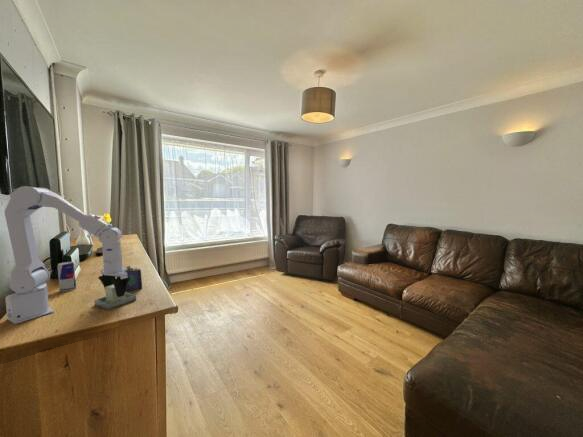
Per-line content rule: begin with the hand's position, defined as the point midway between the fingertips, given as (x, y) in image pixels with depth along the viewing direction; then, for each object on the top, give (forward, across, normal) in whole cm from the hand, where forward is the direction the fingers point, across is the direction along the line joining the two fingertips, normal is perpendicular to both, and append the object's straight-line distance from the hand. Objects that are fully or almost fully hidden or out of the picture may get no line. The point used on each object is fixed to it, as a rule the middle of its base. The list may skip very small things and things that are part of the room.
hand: (115, 294), depth 91 cm
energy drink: (+3, +35, +2) cm, 35 cm away
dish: (+3, 0, 0) cm, 3 cm away
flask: (+3, +9, -10) cm, 14 cm away
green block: (+3, 0, 0) cm, 3 cm away
